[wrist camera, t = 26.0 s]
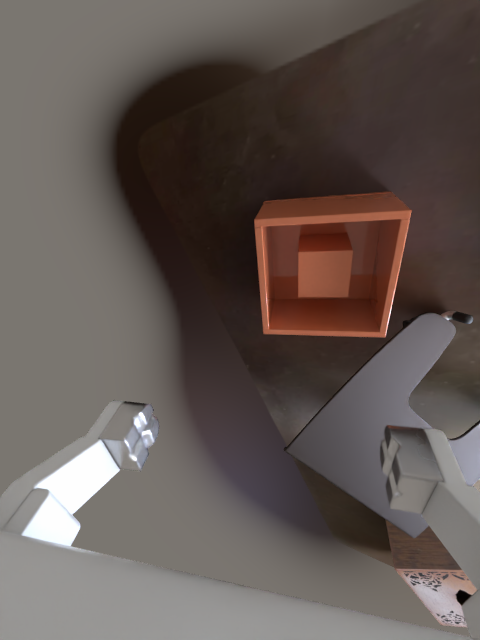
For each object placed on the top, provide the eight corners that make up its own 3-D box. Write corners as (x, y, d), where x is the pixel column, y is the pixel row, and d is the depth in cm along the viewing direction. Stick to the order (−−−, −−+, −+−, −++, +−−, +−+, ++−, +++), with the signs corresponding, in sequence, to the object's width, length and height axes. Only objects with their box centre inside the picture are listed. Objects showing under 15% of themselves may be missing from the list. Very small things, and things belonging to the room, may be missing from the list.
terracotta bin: (264, 200, 28) (253, 219, 23) (391, 191, 25) (412, 210, 20) (270, 301, 34) (263, 334, 29) (373, 301, 32) (385, 337, 26)
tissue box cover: (381, 500, 53) (394, 568, 45) (474, 492, 47) (508, 570, 39) (424, 560, 63) (441, 625, 55) (505, 560, 57) (538, 634, 49)
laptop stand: (495, 383, 41) (573, 420, 32) (382, 494, 44) (425, 556, 35) (391, 281, 36) (450, 292, 27) (270, 414, 39) (288, 464, 30)
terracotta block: (299, 235, 29) (298, 251, 25) (347, 232, 28) (353, 250, 24) (299, 276, 31) (298, 297, 27) (343, 276, 30) (348, 297, 26)
